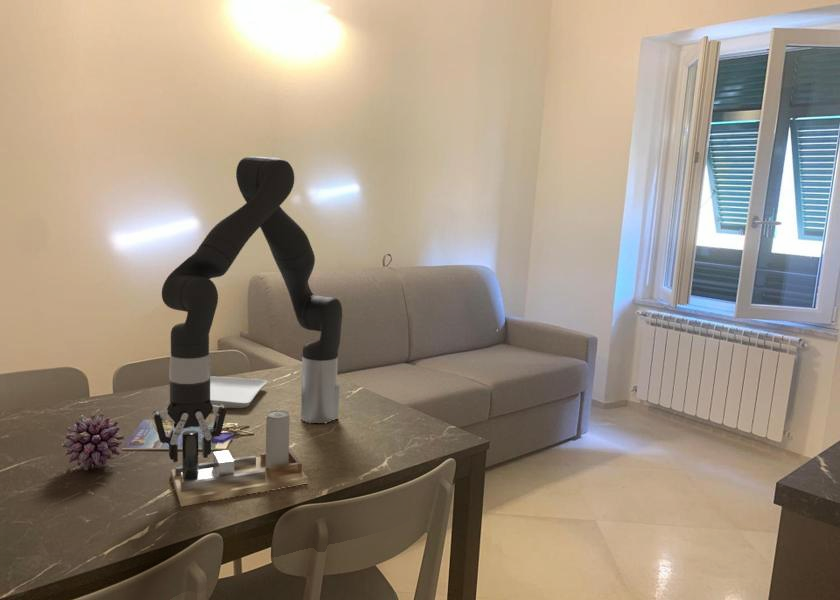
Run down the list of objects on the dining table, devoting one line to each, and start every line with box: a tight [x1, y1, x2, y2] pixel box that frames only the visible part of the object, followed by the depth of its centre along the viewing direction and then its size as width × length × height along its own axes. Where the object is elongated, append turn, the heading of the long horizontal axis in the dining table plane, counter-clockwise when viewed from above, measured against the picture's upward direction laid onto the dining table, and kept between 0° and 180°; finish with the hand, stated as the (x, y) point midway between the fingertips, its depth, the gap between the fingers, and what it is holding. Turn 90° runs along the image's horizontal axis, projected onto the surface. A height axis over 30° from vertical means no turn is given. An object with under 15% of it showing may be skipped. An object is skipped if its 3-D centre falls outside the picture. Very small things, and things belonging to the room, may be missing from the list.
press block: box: [181, 430, 234, 482], centre depth 129 cm, size 10×6×10 cm, turn 118°
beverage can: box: [265, 409, 291, 470], centre depth 136 cm, size 5×5×12 cm
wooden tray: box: [170, 448, 309, 507], centre depth 133 cm, size 25×14×4 cm, turn 118°
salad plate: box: [210, 375, 268, 409], centre depth 183 cm, size 21×21×3 cm
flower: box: [60, 412, 125, 471], centre depth 134 cm, size 12×12×12 cm
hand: (190, 458), depth 128 cm, fingers open, 5 cm apart
